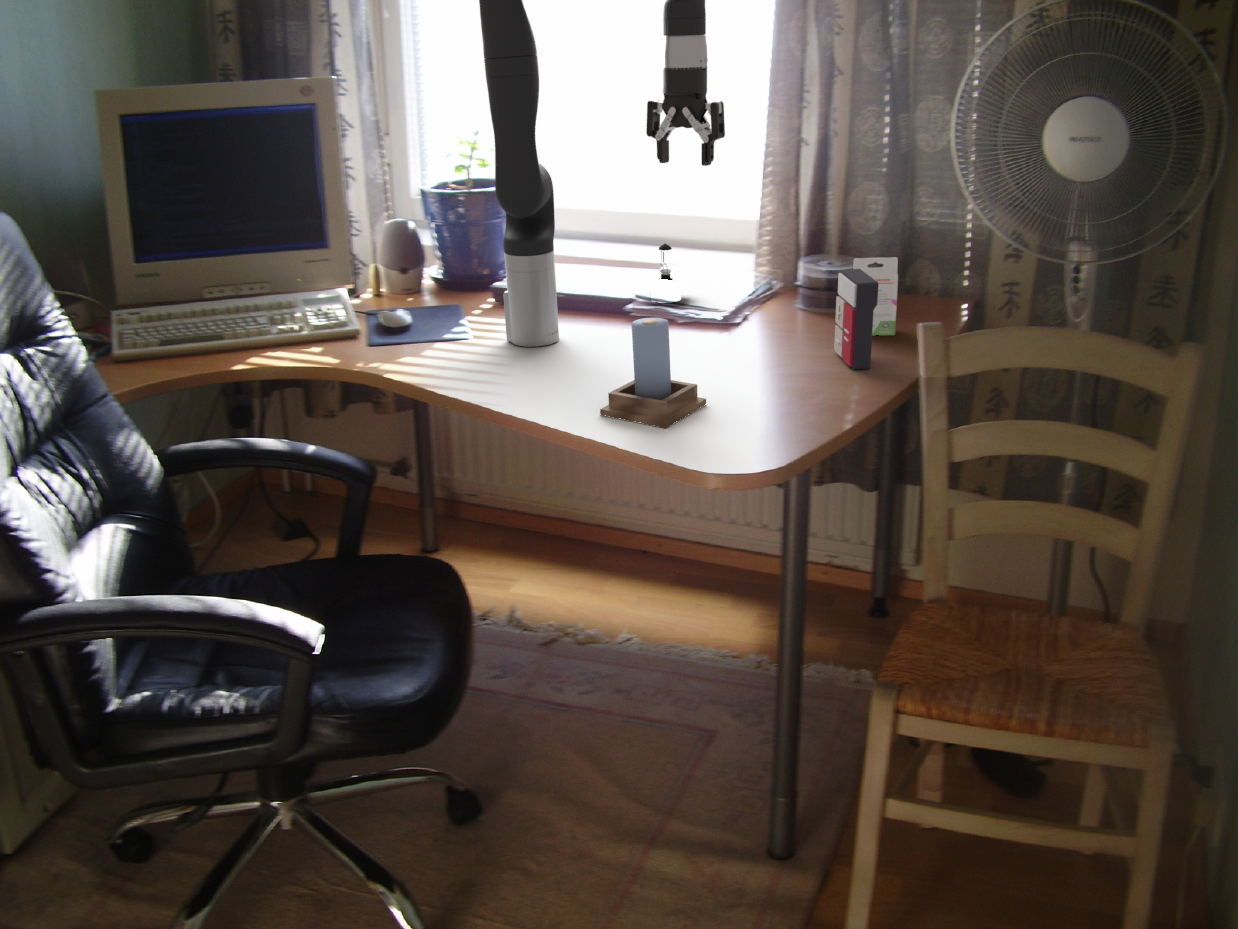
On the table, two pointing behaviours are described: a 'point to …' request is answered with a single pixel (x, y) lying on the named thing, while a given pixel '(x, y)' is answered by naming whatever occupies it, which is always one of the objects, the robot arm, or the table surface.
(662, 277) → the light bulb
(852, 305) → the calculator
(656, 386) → the blue-grey tall cylinder
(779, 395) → the table surface
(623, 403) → the walnut holder
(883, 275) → the ink box
